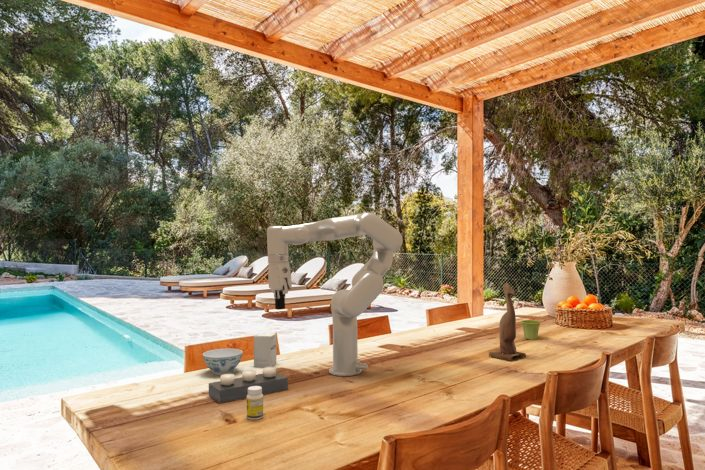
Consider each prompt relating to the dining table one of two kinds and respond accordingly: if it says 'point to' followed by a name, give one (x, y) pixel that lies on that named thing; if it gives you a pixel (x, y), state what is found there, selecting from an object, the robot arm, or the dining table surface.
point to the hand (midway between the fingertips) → (280, 308)
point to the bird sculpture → (507, 330)
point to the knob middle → (248, 375)
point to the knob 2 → (269, 372)
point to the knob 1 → (227, 379)
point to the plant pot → (530, 329)
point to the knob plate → (241, 387)
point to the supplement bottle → (254, 403)
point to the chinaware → (222, 360)
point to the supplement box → (265, 350)
